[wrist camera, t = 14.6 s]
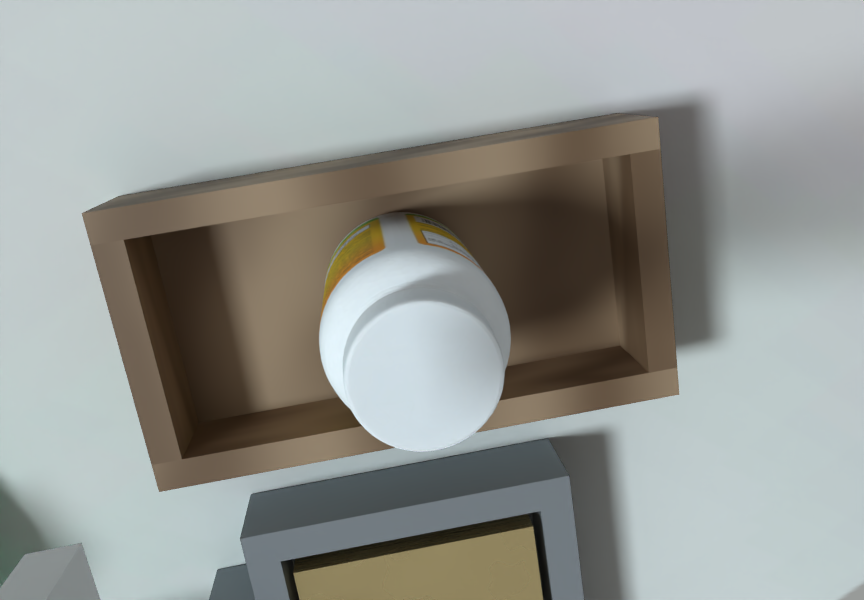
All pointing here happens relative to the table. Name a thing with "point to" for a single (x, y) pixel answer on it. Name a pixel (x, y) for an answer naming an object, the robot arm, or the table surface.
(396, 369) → the supplement bottle
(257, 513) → the grey stepped block
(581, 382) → the trough
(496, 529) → the contact pad
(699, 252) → the table surface
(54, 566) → the robot arm
